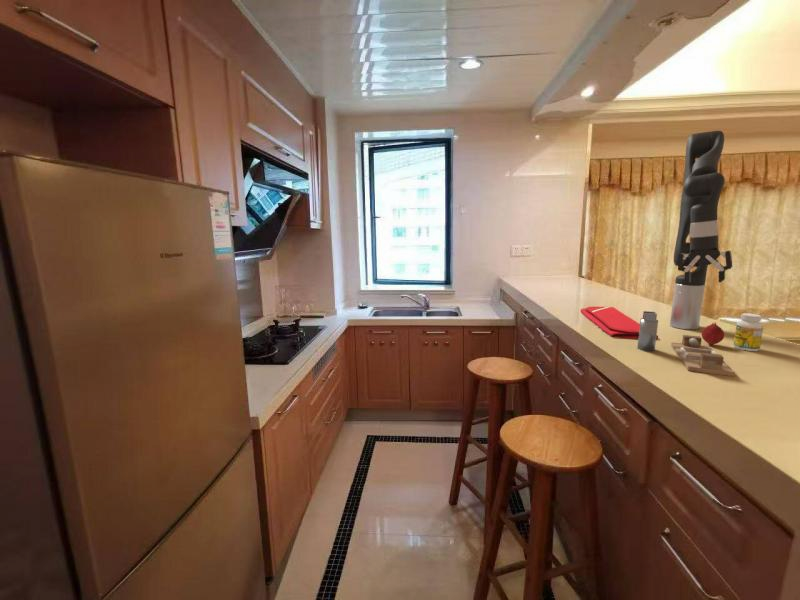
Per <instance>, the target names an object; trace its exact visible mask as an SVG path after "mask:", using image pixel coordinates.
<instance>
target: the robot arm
mask: <svg viewBox="0 0 800 600" xmlns="http://www.w3.org/2000/svg"><path fill="white" fill-rule="evenodd" d="M724 143H725V135H724V132H723V131H721V130H711V131H705V132H696V133H693V134H692V133H691V134H690V135H689V136H688V138H687V141H686V147H685V163H684V177H683V185H682V191H681V199H680V205H679V206H680V207H679V220H678V221H679V223H678V228H677V229H678V230H677V236H676V241H675V245H674V250H673V251H674V253H673V263H674V265H675V266H676V267H677V270H678V271H679V272H684V274H680V275H677V276H676V277H675V282H674V289H673V290H674V291H673V297H672V298H673V299H672V304H671V305H672V306H671V314H670V319H669V326H670V327H673V328H676V329H681V330H682V329H683V330H698V329H699V328H700V321H701V315H702V308H703V304H704V303H703V302H704V293H705V288H706V287H705V286H706V279H707V272H708V267H709V266H710V265H713V266H714V267H715V268H717V270H718V283H722V282H723V281H724V280H726V271H728V270H730V269H732V268H733V258H732V250H726V251H725V250H724V251H720V250H719V246H720V245H719V223H718V209H719V201H720V197H721V196H722V195H721V194H722V192H723V189H724V186H725V177H724V174H722V173H720V172H719V171H718V170H719V161H720V158H721V157H722V153H723V150H724ZM688 236H689V242H687V240H688ZM720 256H722V258H724V259H725V266H724V265H723V264H722V263H721V262H720V261H719V260H718V258H719V257H720ZM693 268H696V269H694V270H692V269H693ZM691 270H692V271H691Z"/></svg>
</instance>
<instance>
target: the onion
mask: <svg viewBox="0 0 800 600" xmlns="http://www.w3.org/2000/svg"><path fill="white" fill-rule="evenodd" d="M700 334H701V338H702V339H703V341H704V342H705V343H706V344H708V346H713V345H716V344H719V343H721V341H722V340H724V338H725V332H724V330H723V328H721V327H720V326H719V325H718V324H717V322H715V321H713V322H711V324H710V325H707V326H705V327H704V328H703V329H702V330H701V333H700Z"/></svg>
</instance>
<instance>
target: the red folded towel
mask: <svg viewBox="0 0 800 600" xmlns="http://www.w3.org/2000/svg"><path fill="white" fill-rule="evenodd" d="M580 313H581V314H582V315H583V316H584V317H585V318H586V319H587V318H588V319H587V320H588V321H590V322H591V323H592V324H593V325H595V326H596V327H597V326H598V327H597V328H599V329H600V330H601V331H603V333H605V332H606V334H607V335H608V336H609V335H610V336H609V337H611V338H612V337H623V338H622V339H638V337H639V328H640V322H637V321H636V320H634V319H633V318H631V317H630V316H628V315H626V314H625V313H624V312H621V311H620V310H618V309H617V308H615V307H612V306H588V307H585V308H583V307H582V308H581V309H580ZM658 338H659V336H658V334H657V335H656V340H657V339H658Z"/></svg>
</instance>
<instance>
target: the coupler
mask: <svg viewBox="0 0 800 600" xmlns="http://www.w3.org/2000/svg"><path fill="white" fill-rule="evenodd" d="M657 318H658V314H657V313H656V312H655V311H647V310H644V311H643V312H642V317H641V318H640V321H639V324H640V328H639V337H638V338H637V350H639V349H640V351H642V350H644V352H654V351H655V350H656V345H657V344H656V343H657V342H656V341H657V339H656V335H657V336H658V327H659V320H658V319H657Z"/></svg>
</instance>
